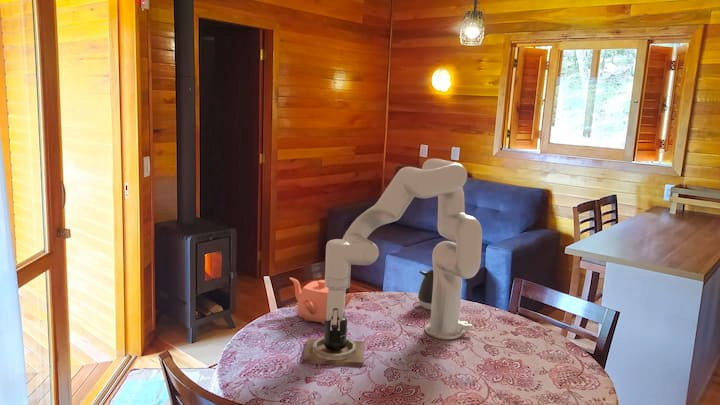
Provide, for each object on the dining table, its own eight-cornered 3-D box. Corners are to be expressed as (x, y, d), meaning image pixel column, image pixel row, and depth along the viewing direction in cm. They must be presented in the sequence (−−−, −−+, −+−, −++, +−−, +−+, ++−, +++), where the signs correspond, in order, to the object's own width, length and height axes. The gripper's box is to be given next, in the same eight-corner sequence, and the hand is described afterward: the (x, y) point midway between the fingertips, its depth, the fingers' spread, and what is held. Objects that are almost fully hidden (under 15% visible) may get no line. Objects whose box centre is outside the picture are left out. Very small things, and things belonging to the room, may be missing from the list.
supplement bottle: (343, 352, 159) (344, 314, 157) (321, 349, 161) (322, 311, 158) (348, 342, 166) (349, 306, 164) (327, 339, 167) (328, 303, 165)
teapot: (288, 311, 194) (289, 275, 192) (335, 305, 202) (337, 270, 199) (303, 331, 178) (304, 292, 176) (354, 324, 185) (356, 286, 183)
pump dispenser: (416, 301, 210) (419, 264, 207) (443, 303, 209) (446, 266, 206) (416, 311, 200) (419, 272, 197) (445, 313, 199) (448, 274, 196)
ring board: (364, 344, 170) (364, 336, 170) (363, 366, 157) (363, 357, 156) (307, 341, 171) (307, 334, 170) (302, 362, 157) (302, 354, 156)
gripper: (327, 271, 168) (325, 324, 171) (322, 290, 151) (320, 349, 154) (351, 272, 168) (349, 325, 171) (348, 291, 151) (346, 350, 154)
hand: (335, 336), depth 163 cm, fingers open, 6 cm apart
